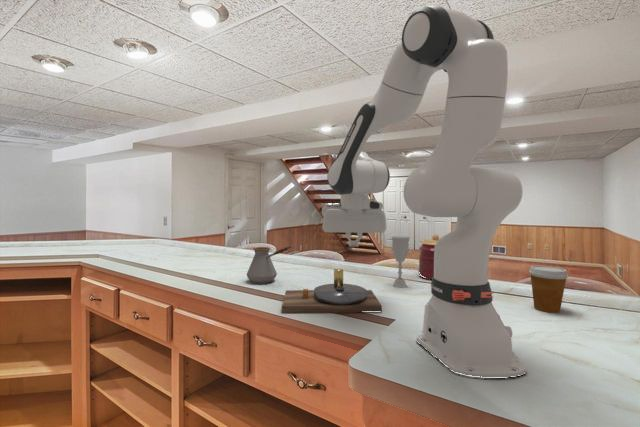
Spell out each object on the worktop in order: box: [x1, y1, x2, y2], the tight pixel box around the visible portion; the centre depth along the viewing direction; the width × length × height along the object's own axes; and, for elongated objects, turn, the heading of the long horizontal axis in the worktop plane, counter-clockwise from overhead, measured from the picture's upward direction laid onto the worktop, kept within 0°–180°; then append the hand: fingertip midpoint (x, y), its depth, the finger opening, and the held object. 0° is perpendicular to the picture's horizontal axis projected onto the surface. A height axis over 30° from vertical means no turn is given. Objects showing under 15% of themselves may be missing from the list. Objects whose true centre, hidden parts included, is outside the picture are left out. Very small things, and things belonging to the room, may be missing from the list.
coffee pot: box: [246, 245, 293, 285], centre depth 126 cm, size 21×12×15 cm, turn 51°
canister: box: [418, 234, 440, 280], centre depth 137 cm, size 13×13×18 cm
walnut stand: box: [281, 288, 383, 314], centre depth 102 cm, size 16×28×4 cm, turn 92°
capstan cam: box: [313, 268, 368, 305], centre depth 102 cm, size 16×16×7 cm
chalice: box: [390, 235, 411, 288], centre depth 123 cm, size 7×7×18 cm
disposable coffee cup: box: [528, 265, 569, 314], centre depth 98 cm, size 10×10×12 cm
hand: (353, 246), depth 108 cm, fingers closed
